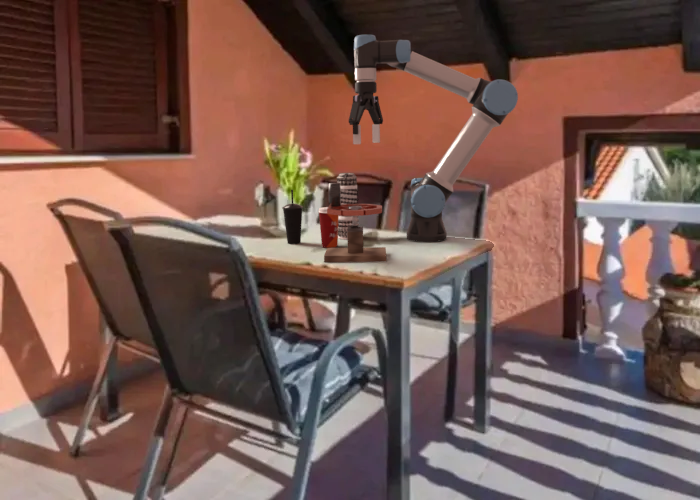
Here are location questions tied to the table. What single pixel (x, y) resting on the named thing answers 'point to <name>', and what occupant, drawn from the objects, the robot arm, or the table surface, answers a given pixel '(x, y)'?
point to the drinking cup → (293, 221)
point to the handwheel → (348, 206)
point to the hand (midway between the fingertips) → (366, 143)
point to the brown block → (355, 250)
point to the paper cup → (328, 228)
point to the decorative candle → (347, 201)
